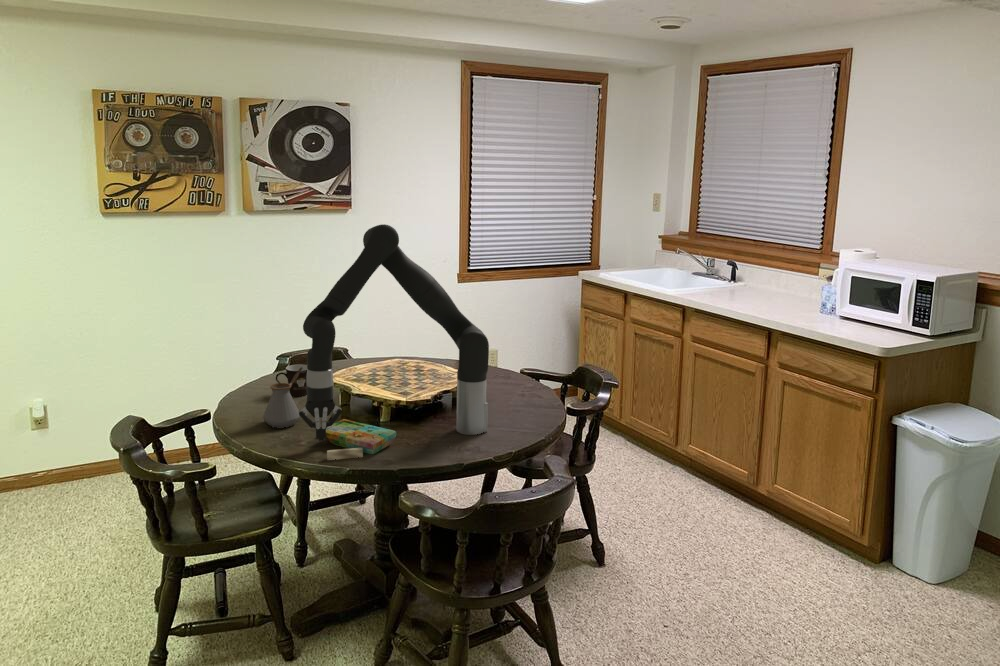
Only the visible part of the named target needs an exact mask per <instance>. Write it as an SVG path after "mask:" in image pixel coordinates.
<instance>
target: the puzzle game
mask: <svg viewBox="0 0 1000 666" xmlns="http://www.w3.org/2000/svg"><path fill="white" fill-rule="evenodd" d="M396 437H397V431H395V430H393V429H388V428H385V427H380V426H375V425H370V424H368V423H363V422H357V421H354V420H350V419H346V418H343V419H340V420H339V421H335V422H334V423H333V425H332V426H329V427H327V428H326V438H325V439H327V440H328V441H329V442H330V443H331V444H332V445H334V446H339V447H341V448H344V449H350V448H363V454H368V455H375V454H376V453H378V452H380V451H381V450H383V449H385V448H387V447H388V446H390V445H391V444H392V443H393V442H394V440H395V438H396Z"/></svg>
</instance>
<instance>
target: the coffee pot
mask: <svg viewBox="0 0 1000 666" xmlns="http://www.w3.org/2000/svg"><path fill="white" fill-rule="evenodd" d="M302 369H304V368H302V367H301V368H300V369H299V370H298V371H297V373H296V374H295V375H294V377H293V379H292V380H291V382H290V384H288V382H280V383H278V382H277V383H274V384H270V386H269V388H270V389H271V393H272V394H271V396H270V398H269V400H268V403H267V405H266V407H265V411H264V413H263V415H262V418H263V420H264V422H265V423H266V424H267V425H269V426H270V425H271V426H272V427H271V426H270V427H271V428H274V427H277V428H276V429H284V427H286V428H290V427H293V426H294V425H295V423H297V422H298V421H299V419H300V418H301V417H300V415H299V410H300V409H299V408H298V407H297V405H296V402H295V401H294V398H293V397H292V396H291V394H290V391H289V390H290V388H291V385H292V384H293V383H294V381H295V380H296V379H297V378H298V375H299V374H300V373H301V371H302ZM304 370H305V369H304ZM289 426H290V427H289Z"/></svg>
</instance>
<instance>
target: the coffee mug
mask: <svg viewBox="0 0 1000 666" xmlns="http://www.w3.org/2000/svg"><path fill="white" fill-rule="evenodd" d="M301 367H302V368H304V369H305V370H304V369H302V371H301V373H300V374H299V375H298V378H297V379H296V380H295V381H294V383H293V384H292V385H291V388H290V390H289V392H290V394H291V396H294V398H302V396H303V397H307V396H306V395H307V383H306V382H307V364H292V365H287V366H286V367H285V372H279V373H277V374H276V375H275V380H276V382H277V383H281V382H280V381H279V380H278V378H279V376H280V375H284V376H285V378H287V379H286V380H287V383H288V384H290V382H291V380H292V379H293V377H294V375H295V374H296V373H297V371H298V370H299V369H300V368H301Z"/></svg>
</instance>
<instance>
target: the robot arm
mask: <svg viewBox="0 0 1000 666" xmlns="http://www.w3.org/2000/svg"><path fill="white" fill-rule="evenodd" d="M399 237H400V236H399V233H398V231H397V230H396V228H395V227H393V226H392V225H389V224H378V225H374V226H372V227H370V228H368V229H367V230H366V231H365V232H364V234H363V238H362V242H363V249H362V251H361V252H360V254H359V256H358V257H357V259H356V260H355V261H354V262H353V263H352V264H351V265H350V267H349V268H348V269H347V270H346V271H345V272H344V273H343V275H342V276H341V277H340V278H339V279H338V280H337V281H336V282H335V284H334V285H333V286H332V288H331V289H330V291H329V292H328V293H327V295H326V296H325V298H324V299H323V300H322V301H321V302H320V303H319V304H318V305H317V306H315V308H314V309H312V310H311V312H309V313H308V314H307V316H306V318H305V320H304V321H303V323H302V324H303V326H302V330H303V333H304V334H305V335H306V336H307V337H309V338H310V339H312V342H311V348H310V349H308V351H307V353H306V365H307V382H306V383H307V396H306V403H305V404H304V407H303V408H302V409H298V410H299V415H300V417H299V418H301V419H302V420H303V421H304V422H305V423H306V424H307V426H308V427H310V428H312V429H315V438H316V440H318V442H321V441H322V442H323V441H324V440H326V439H327V438H326V428H327V427H329V426H332V425H333V424H334V423H336V422H337V419H338V418H340V415H342V413H343V410H342V407H340V406H337V405H336V402H335V401H334V373H333V358H332V357H333V350H334V345H335V343H336V342H335V341H336V326H335V324H334V322H333V320H335V318H337V317H341V316H343V315H345V313H346V312H347V311H348V309H350V307H351V306H352V304H353V302H354V301H355V300H356V299H357V297H358V295H359V294H360V292H361V291H362V290H363V288H364V287H365V285H366V283H367V282H368V281H369V280H370V278H371V277H372V275H374V273H375V272H376V271H377V270H378V268H380V266H382V267H383V268H385V269H386V270H387V271H388V272H389V273H390V274H391V275H392V277H393V278H394V279H395V281H396V282H397V283H398V284H399V285H400V287H402V289H403V290H404V291H405V292H406V293H407V295H408V296H409V297H410V298H411V299H412V301H413V302H414V303H415V304H416V305H417V306H418V307H419V308H420V309H421V310H422V312H424V313H425V314H426V315H428V316H429V317H430V318H431V319H432V320H434V322H436V323H438V324H439V325H440V327H442V328H443V329H444V331H445V332H447V334H448V335H449V336H450V338H451V340H452V341H453V342H454V344H455V345H456V347H457V349H458V368H457V371H456V381H457V382H456V424H455V425H456V432H458V433H459V434H460V435H461V434H462V435H466V436H476V435H477V434H478V435H481V433H482V434H483V432H484V433H488V416H489V415H488V414H489V412H488V411H489V403H488V402H487V376H488V371H489V358H490V357H489V353H490V344H489V343H490V342H489V339H488V338H487V335H486V334H484V331H482V330H481V329H480V328H478V326H476V325H475V324H474V323H472V321H470V320H469V319H468V318H467V317H466V316H465V315H464V314H463V313H462V312H461V310H459V308H458V307H457V305H456V304H455V303H454V301H453V299H452V298H451V297H450V295H449V294H448V292H447V291H446V290H445V288H444V287H443V286H442V285H441V284H440V282H438V281H437V279H435V277H434V276H433V275H431V273H429V272H428V271H427V270H426V269H425V268H423V267H422V266H420V265H419V264H417V263H416V262H415V261H413V260H411V258H410V257H408V255H406V254H405V252H404V251H403V250H402V248H401V247H400V246H399V244H400V243H399V242H400V238H399ZM332 411H333V413H332ZM308 413H309V414H310V415H311V416H312V417H313V418H314V421H313V420H312V419H311V418H310V417H309V416H308ZM331 413H332V415H331V416H330V414H331ZM329 416H330V417H329ZM328 417H329V419H327V418H328ZM320 418H321V421H320Z"/></svg>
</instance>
